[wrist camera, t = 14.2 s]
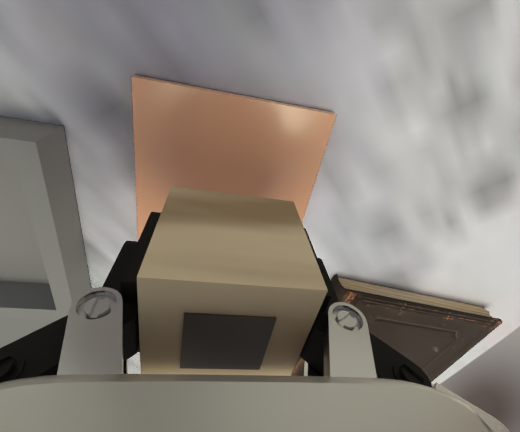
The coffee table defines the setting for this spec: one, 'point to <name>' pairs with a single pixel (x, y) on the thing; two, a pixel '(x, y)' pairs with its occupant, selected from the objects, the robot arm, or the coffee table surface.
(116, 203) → the coffee table surface
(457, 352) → the hardcover book
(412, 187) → the coffee table surface
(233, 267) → the birch cube
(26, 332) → the grey organiser
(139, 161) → the terracotta tile
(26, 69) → the coffee table surface
